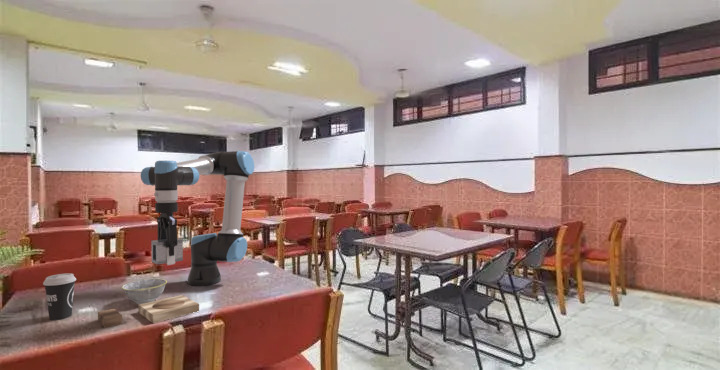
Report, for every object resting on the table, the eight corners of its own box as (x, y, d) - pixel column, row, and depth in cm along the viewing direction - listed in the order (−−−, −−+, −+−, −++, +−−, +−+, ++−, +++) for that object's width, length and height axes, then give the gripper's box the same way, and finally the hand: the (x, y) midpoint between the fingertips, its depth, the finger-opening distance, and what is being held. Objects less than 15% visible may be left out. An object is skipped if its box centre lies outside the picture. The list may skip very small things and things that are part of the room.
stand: (97, 320, 136) (97, 311, 136) (114, 316, 139) (113, 308, 139) (105, 327, 129) (105, 319, 129) (122, 323, 133) (121, 315, 132)
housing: (176, 258, 149) (176, 237, 149) (182, 260, 145) (182, 239, 144) (151, 262, 142) (151, 240, 142) (157, 264, 138) (157, 242, 138)
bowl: (135, 311, 145) (135, 291, 145) (114, 304, 154) (114, 285, 153) (175, 299, 159) (174, 281, 159) (153, 293, 167) (153, 276, 167)
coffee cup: (56, 312, 144) (55, 273, 143) (82, 311, 144) (82, 272, 144) (36, 322, 134) (35, 280, 134) (65, 321, 135) (64, 279, 135)
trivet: (138, 312, 143) (138, 304, 143) (182, 302, 155) (182, 294, 155) (153, 323, 132) (153, 314, 132) (199, 311, 144) (199, 303, 144)
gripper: (147, 201, 147) (148, 260, 147) (165, 203, 134) (166, 268, 134) (167, 200, 152) (168, 257, 153) (186, 202, 139) (187, 265, 140)
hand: (167, 262), depth 143 cm, fingers closed on housing, 6 cm apart
